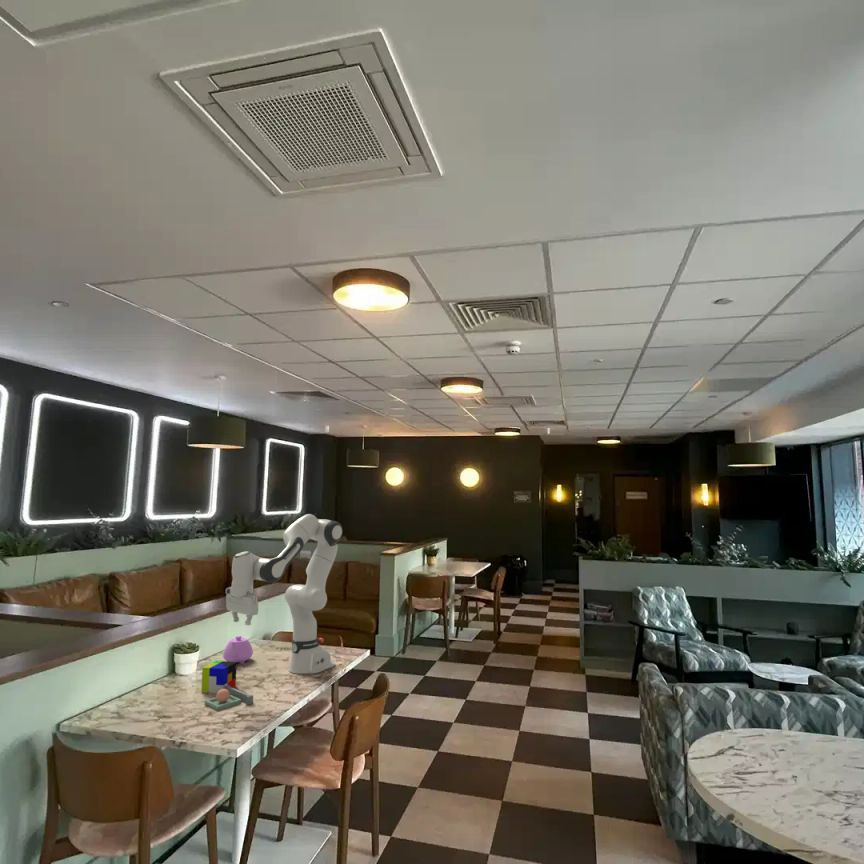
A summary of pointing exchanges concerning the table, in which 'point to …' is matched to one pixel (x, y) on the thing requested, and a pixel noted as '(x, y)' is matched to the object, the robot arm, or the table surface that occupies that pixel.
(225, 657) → the teapot
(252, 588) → the robot arm
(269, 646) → the table surface
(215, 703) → the dish
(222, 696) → the ball
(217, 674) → the puzzle toy
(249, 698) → the bar with end supports
